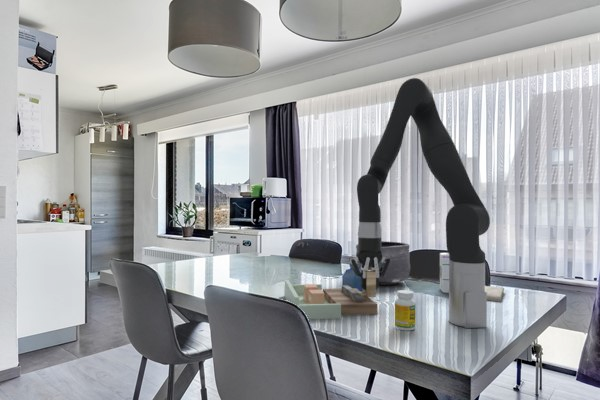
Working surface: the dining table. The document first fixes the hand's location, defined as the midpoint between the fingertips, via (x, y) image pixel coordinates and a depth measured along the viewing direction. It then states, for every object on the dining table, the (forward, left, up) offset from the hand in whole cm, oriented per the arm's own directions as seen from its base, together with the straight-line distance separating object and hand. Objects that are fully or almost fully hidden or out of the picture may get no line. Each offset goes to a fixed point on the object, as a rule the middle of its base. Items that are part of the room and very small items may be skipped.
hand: (369, 288), depth 126 cm
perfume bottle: (+18, 0, -6) cm, 19 cm away
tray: (+1, +19, -5) cm, 20 cm away
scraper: (0, +3, -2) cm, 4 cm away
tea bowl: (+35, -17, -6) cm, 39 cm away
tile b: (+5, +17, -2) cm, 18 cm away
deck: (+1, +7, -5) cm, 9 cm away
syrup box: (+17, -37, -6) cm, 41 cm away
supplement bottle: (-23, -2, -6) cm, 24 cm away
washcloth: (+10, -48, -6) cm, 49 cm away
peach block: (-4, +16, -2) cm, 17 cm away
